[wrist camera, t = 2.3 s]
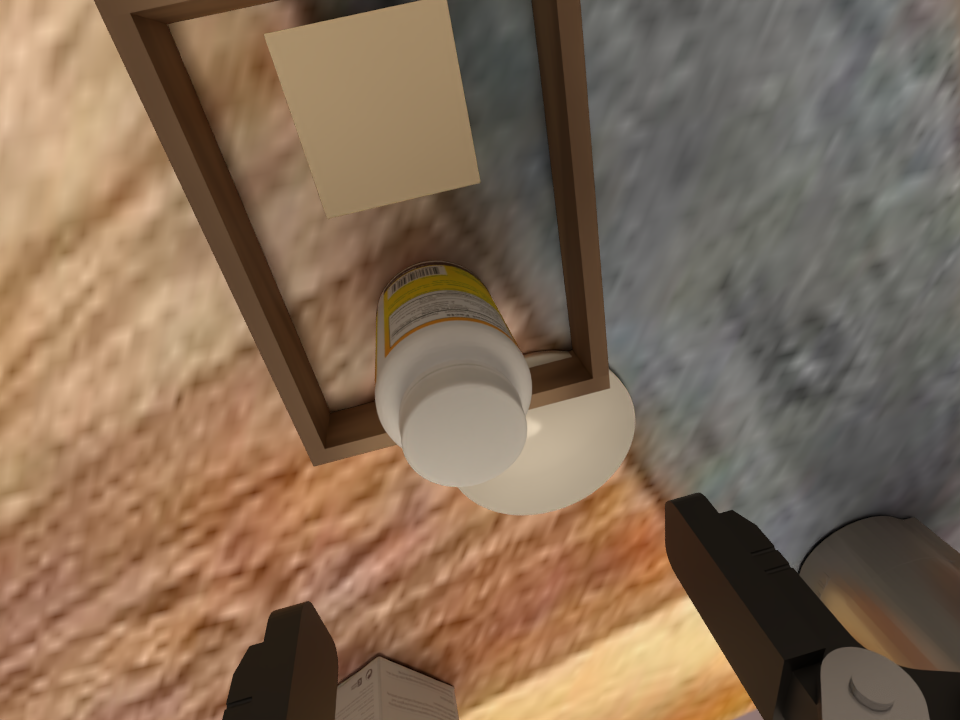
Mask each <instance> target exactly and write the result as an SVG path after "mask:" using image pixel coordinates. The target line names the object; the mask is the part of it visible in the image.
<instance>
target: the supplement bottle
mask: <svg viewBox="0 0 960 720" xmlns="http://www.w3.org/2000/svg"><path fill="white" fill-rule="evenodd" d="M531 397H532V379H531V374H530V370H529V367H528V365H527V362H526V360H525V358H524V356H523V354H522V352H521V350H520V349H519V347H518V345H517V343H516V341H515V340H514V338H513V336H512V334H511V332H510V330H509V328H508V327H507V325H506V323H505V321H504V319H503V318H502V316H501V314H500V312H499V310H498V308H497V306H496V305H495V303H494V301H493V299H492V297H491V296H490V294H489V291H488V290H487V288H486V287H485V286H484V284H483V283H482V282H481V281H480V279H479V278H478V277H477V276H476V275H474V274H473V273H472V272H470V271H469V270H467V269H466V268H464V267H462V266H460V265H457V264H454V263H450V262H445V261H427V262H421V263H418V264H415V265H412V266H410V267H408V268H406V269H404V270H403V271H401V272H400V273H399V274H397V275H396V276H395V277H394V278H393V279H392V280H391V281H390V282H389V283H388V285H387V286H386V287H385V289H384V291H383V292H382V295H381V297H380V299H379V303H378V307H377V313H376V359H375V403H376V409H377V413H378V416H379V419H380V422H381V424H382V426H383V428H384V429H385V431H386V432H387V434H388V435H389V436H390V438H391V439H392V440H393V441H394V442H395V443H396V444H397V445H399V446H400V447H401V448H402V449H403V452H404V456H405V457H406V459H407V461H408V463H409V464H410V466H411V467H412V468H413V470H415V471H416V472H417V473H418V474H419V475H420V476H422V477H423V478H425V479H427V480H429V481H431V482H433V483H436V484H440V485H443V486H450V487H467V486H473V485H477V484H481V483H484V482H486V481H489V480H491V479H493V478H495V477H497V476H498V475H500V474H501V473H503V472H504V471H506V470H507V469H508V468H509V467H510V466H511V465H512V464H513V463H514V462H515V461H516V459H517V458H518V457H519V455H520V454H521V452H522V450H523V447H524V445H525V442H526V438H527V421H526V414H527V412H528V409H529V406H530V402H531Z"/></svg>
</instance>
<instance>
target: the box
mask: <svg viewBox="0 0 960 720" xmlns="http://www.w3.org/2000/svg"><path fill="white" fill-rule="evenodd" d="M264 37H265V40H266V43H267V46H268V48H269V51H270V54H271V57H272V60H273V63H274V66H275V69H276V72H277V75H278V78H279V80H280V83H281V86H282V89H283V92H284V95H285V98H286V101H287V104H288V107H289V110H290V112H291V115H292V118H293V121H294V124H295V127H296V130H297V133H298V136H299V139H300V142H301V144H302V147H303V150H304V153H305V156H306V159H307V162H308V165H309V168H310V171H311V174H312V177H313V179H314V182H315V185H316V188H317V191H318V194H319V197H320V200H321V203H322V206H323V209H324V211H325V214H326V217H327V219H330V218H334V217H339V216H343V215H347V214H351V213H355V212H360V211H364V210H368V209H372V208H377V207H381V206H385V205H389V204H393V203H398V202H402V201H406V200H410V199H414V198H419V197H423V196H427V195H431V194H436V193H440V192H444V191H448V190H452V189H457V188H461V187H465V186H469V185H474V184H478V183H481V182H480V177H479V171H478V166H477V160H476V155H475V150H474V144H473V139H472V134H471V128H470V123H469V117H468V112H467V107H466V101H465V96H464V90H463V85H462V80H461V74H460V69H459V63H458V58H457V53H456V47H455V42H454V36H453V31H452V26H451V20H450V15H449V10H448V4H447V0H420V1H415V2H411V3H406V4H401V5H397V6H392V7H387V8H383V9H378V10H373V11H369V12H364V13H359V14H355V15H350V16H346V17H341V18H336V19H332V20H327V21H322V22H318V23H313V24H308V25H304V26H299V27H294V28H290V29H285V30H280V31H276V32H271V33H266V34H264Z"/></svg>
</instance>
